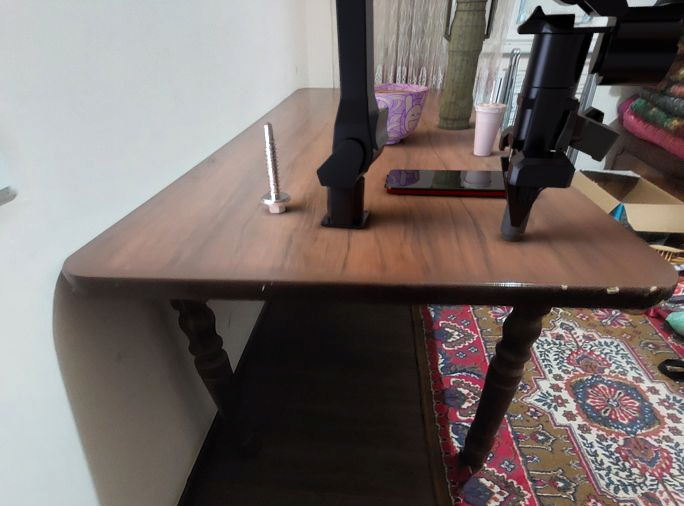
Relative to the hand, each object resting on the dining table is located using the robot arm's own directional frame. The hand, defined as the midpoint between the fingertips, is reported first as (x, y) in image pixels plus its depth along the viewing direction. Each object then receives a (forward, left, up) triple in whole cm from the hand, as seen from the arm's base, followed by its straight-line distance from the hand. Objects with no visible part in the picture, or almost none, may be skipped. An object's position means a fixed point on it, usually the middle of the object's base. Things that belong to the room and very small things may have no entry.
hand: (513, 221), depth 55 cm
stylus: (0, 0, -2) cm, 2 cm away
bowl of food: (+57, +26, -3) cm, 63 cm away
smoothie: (+47, +2, -3) cm, 47 cm away
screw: (+4, +36, -3) cm, 36 cm away
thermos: (+78, +9, -3) cm, 79 cm away
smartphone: (+22, +8, -3) cm, 24 cm away
